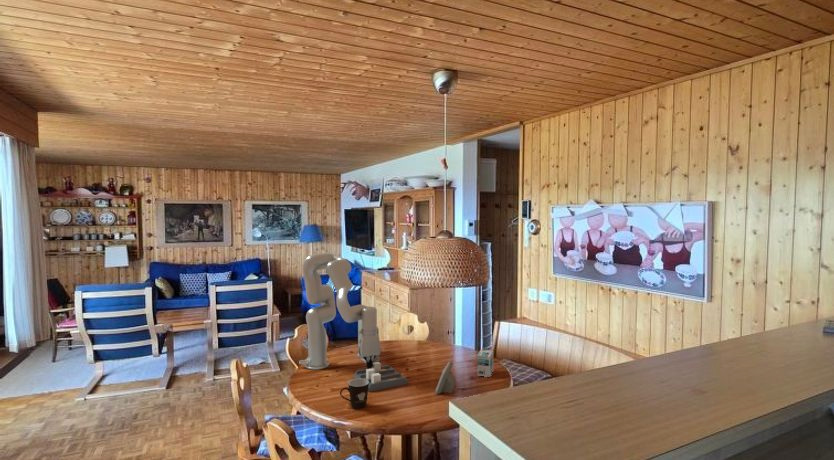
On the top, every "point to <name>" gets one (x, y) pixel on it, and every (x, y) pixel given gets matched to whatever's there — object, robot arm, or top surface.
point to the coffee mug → (357, 393)
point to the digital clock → (446, 380)
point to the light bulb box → (485, 363)
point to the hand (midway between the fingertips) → (369, 368)
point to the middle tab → (369, 373)
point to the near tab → (375, 378)
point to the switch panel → (383, 378)
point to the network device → (359, 340)
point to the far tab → (377, 366)
